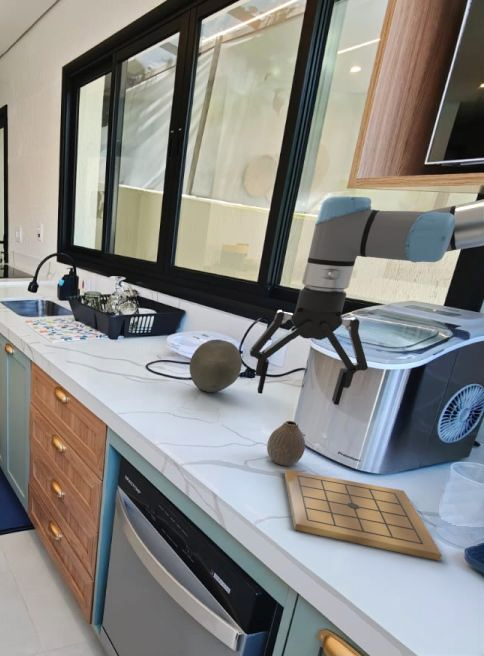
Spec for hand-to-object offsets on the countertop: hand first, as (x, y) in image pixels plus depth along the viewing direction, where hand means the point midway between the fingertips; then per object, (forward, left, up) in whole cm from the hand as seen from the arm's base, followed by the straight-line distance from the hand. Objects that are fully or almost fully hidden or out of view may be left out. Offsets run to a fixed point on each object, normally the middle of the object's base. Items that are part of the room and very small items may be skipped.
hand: (296, 397), depth 100 cm
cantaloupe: (+16, -39, -15) cm, 44 cm away
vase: (0, 0, -15) cm, 15 cm away
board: (-10, +16, -14) cm, 24 cm away
